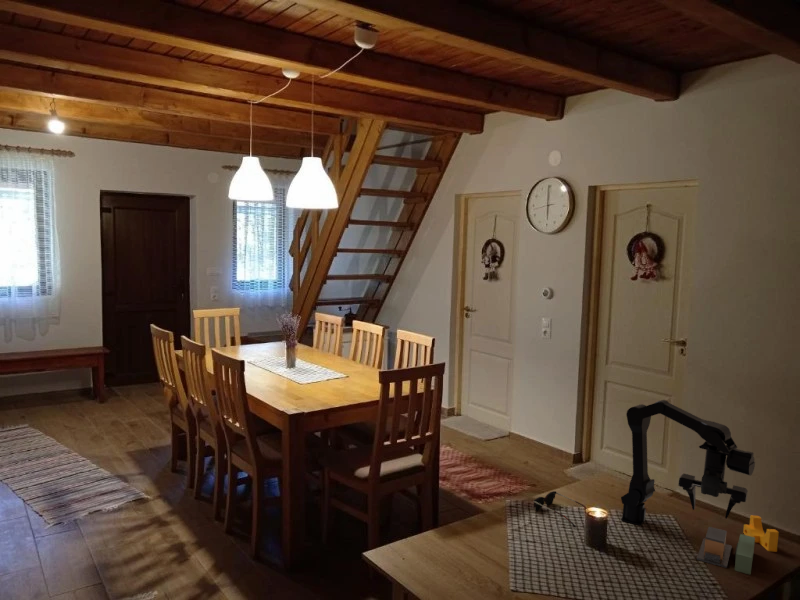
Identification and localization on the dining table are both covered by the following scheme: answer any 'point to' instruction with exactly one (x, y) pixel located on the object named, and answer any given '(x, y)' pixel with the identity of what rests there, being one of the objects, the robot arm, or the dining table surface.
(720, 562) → the side mount
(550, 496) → the sunglasses
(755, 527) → the pipe clamp
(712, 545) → the tan and grey block
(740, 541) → the green long block
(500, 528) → the dining table surface
